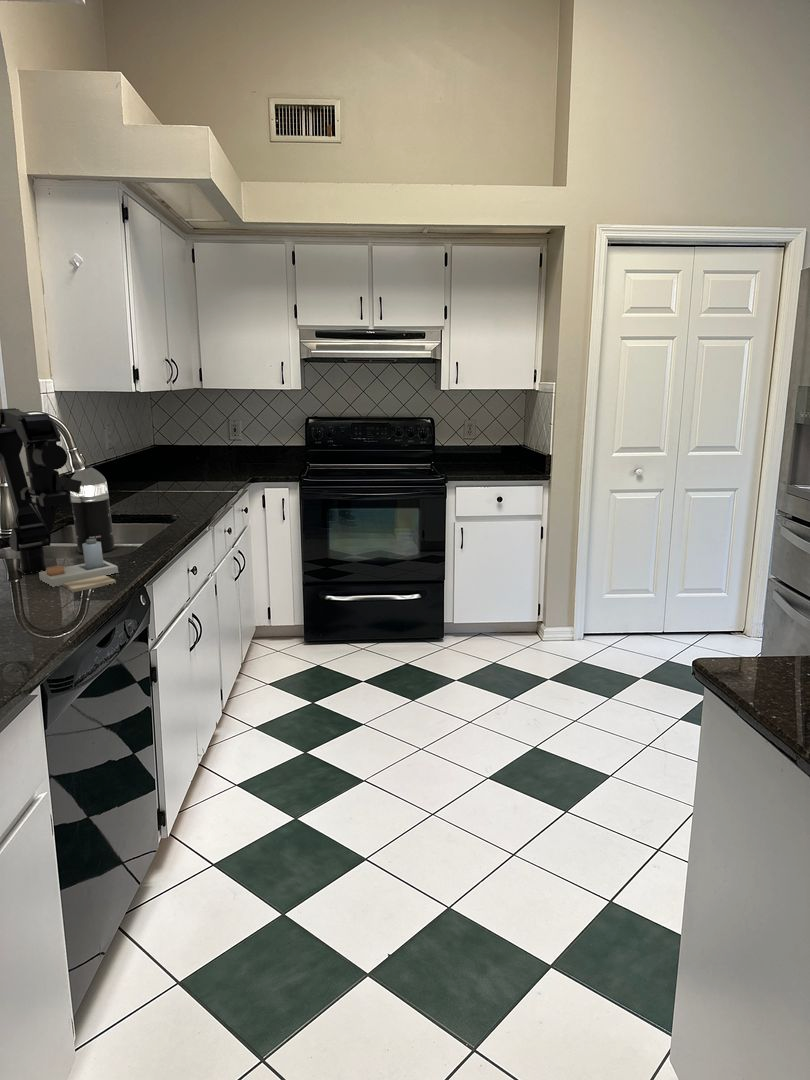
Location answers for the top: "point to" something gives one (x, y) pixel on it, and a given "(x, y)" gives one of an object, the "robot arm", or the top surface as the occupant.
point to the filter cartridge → (92, 554)
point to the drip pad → (89, 583)
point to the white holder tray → (77, 574)
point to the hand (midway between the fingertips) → (50, 530)
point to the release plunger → (55, 570)
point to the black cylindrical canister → (92, 509)
